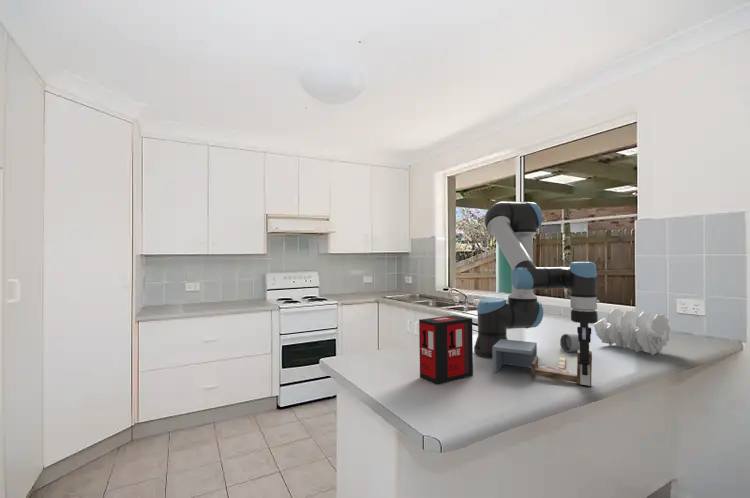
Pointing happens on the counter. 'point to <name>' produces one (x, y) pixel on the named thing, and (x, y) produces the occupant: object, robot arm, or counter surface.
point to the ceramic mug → (570, 342)
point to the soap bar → (552, 369)
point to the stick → (562, 362)
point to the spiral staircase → (634, 330)
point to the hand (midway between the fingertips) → (585, 382)
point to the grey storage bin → (513, 353)
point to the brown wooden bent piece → (560, 374)
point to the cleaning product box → (445, 348)
